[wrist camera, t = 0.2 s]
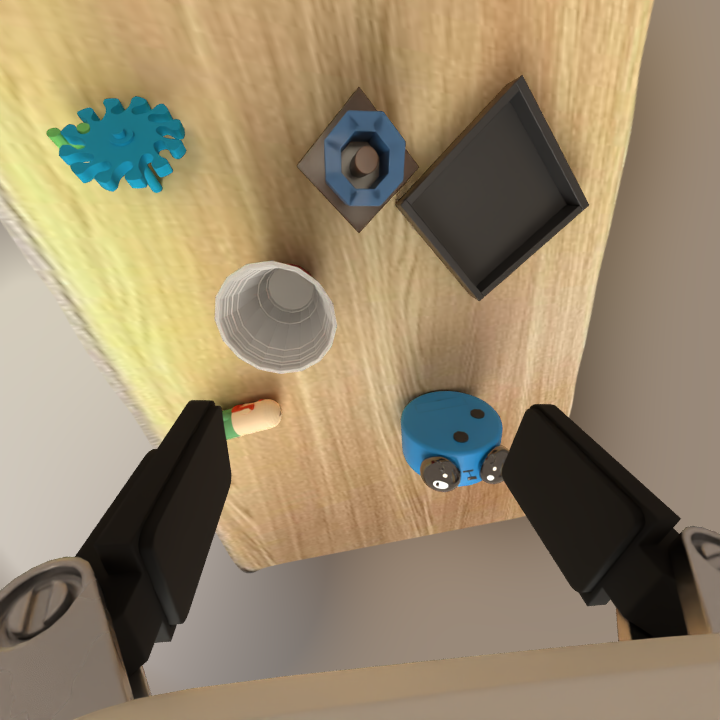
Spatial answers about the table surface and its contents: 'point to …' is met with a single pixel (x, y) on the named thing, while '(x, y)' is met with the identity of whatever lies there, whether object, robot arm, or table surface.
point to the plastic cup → (275, 317)
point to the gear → (121, 144)
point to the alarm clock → (453, 440)
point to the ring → (381, 138)
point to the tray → (495, 192)
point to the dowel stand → (351, 166)
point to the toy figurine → (251, 418)
